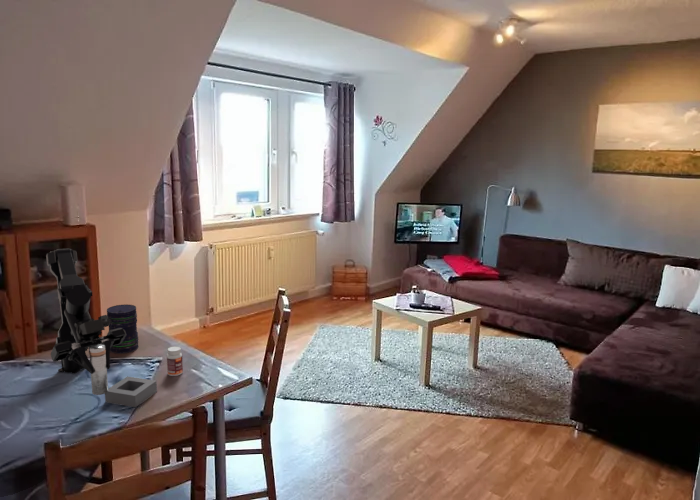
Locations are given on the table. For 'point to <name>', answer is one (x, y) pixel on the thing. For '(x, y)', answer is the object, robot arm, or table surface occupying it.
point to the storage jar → (124, 326)
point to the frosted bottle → (98, 369)
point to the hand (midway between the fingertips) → (100, 370)
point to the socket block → (131, 391)
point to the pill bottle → (174, 361)
